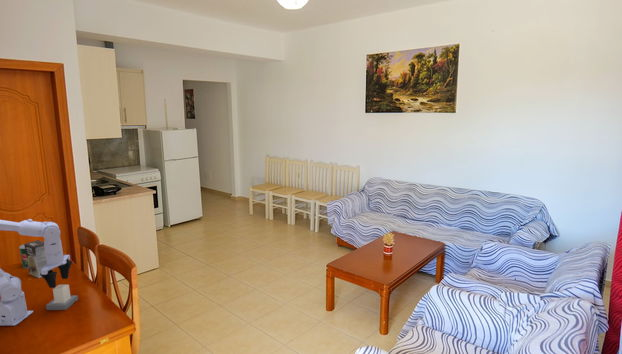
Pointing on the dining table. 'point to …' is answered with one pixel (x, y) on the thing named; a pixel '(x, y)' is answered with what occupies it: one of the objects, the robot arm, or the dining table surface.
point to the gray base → (62, 304)
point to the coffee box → (35, 257)
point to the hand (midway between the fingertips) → (59, 282)
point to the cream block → (61, 293)
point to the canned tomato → (23, 256)
